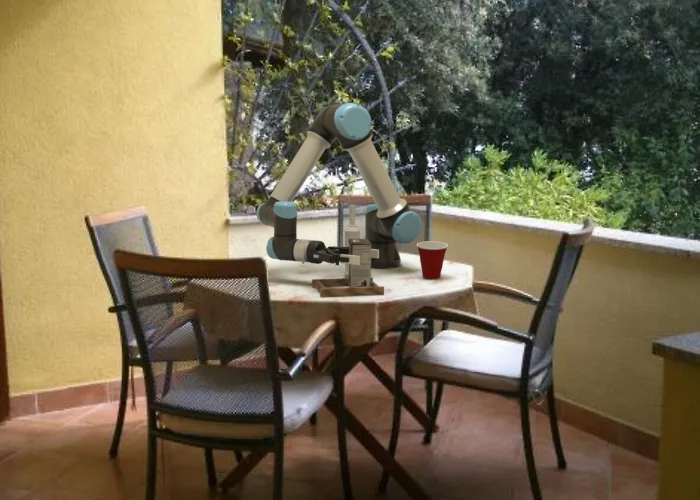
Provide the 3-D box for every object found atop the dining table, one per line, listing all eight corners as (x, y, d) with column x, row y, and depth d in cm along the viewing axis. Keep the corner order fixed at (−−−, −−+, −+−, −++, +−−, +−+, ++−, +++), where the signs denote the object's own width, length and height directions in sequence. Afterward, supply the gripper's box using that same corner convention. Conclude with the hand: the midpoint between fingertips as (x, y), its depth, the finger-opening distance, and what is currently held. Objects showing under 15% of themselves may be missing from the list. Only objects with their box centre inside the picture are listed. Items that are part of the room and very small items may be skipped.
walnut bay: (371, 284, 262) (371, 277, 262) (383, 294, 247) (384, 286, 247) (312, 287, 258) (312, 279, 257) (320, 297, 243) (320, 289, 242)
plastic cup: (415, 280, 269) (415, 245, 267) (415, 274, 280) (416, 240, 278) (447, 281, 268) (448, 246, 266) (447, 275, 279) (448, 241, 277)
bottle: (361, 277, 275) (362, 205, 270) (356, 279, 270) (357, 206, 266) (347, 275, 276) (347, 204, 272) (342, 278, 271) (342, 205, 267)
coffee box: (347, 287, 257) (348, 238, 255) (367, 287, 258) (368, 238, 255) (350, 293, 248) (350, 242, 246) (370, 293, 249) (371, 242, 246)
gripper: (329, 257, 271) (385, 262, 262) (290, 269, 249) (350, 275, 240) (329, 235, 270) (385, 240, 260) (290, 245, 248) (351, 251, 238)
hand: (369, 257), depth 250 cm, fingers open, 13 cm apart
